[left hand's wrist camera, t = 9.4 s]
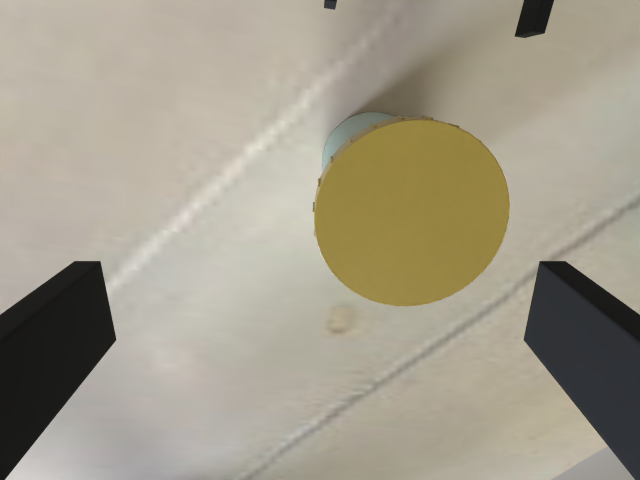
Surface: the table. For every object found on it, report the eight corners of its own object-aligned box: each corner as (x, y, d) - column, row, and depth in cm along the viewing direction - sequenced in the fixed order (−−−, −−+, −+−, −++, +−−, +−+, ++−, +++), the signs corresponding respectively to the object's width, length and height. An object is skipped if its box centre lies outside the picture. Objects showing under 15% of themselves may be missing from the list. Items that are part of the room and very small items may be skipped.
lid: (276, 195, 23) (271, 206, 21) (427, 72, 21) (440, 70, 19) (382, 318, 26) (388, 339, 24) (526, 221, 24) (546, 234, 21)
